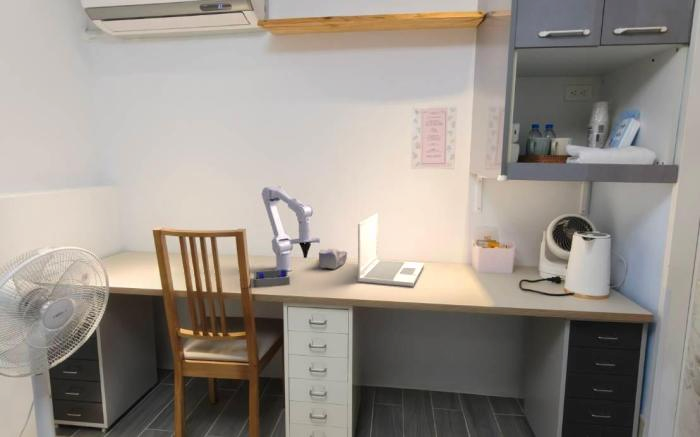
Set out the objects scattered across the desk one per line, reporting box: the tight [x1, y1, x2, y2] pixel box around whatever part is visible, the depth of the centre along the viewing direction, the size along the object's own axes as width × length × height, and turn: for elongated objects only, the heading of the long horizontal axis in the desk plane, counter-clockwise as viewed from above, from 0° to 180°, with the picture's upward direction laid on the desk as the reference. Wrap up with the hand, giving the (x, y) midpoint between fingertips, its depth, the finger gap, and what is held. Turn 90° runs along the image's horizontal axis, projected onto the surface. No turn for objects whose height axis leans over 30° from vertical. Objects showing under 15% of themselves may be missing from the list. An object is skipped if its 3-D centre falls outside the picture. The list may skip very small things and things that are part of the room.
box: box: [253, 269, 291, 288], centre depth 190 cm, size 14×16×4 cm
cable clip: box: [259, 269, 286, 279], centre depth 187 cm, size 12×4×6 cm, turn 111°
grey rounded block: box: [318, 248, 348, 270], centre depth 217 cm, size 13×11×20 cm
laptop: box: [357, 213, 425, 288], centre depth 198 cm, size 35×26×28 cm
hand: (305, 257), depth 197 cm, fingers closed
